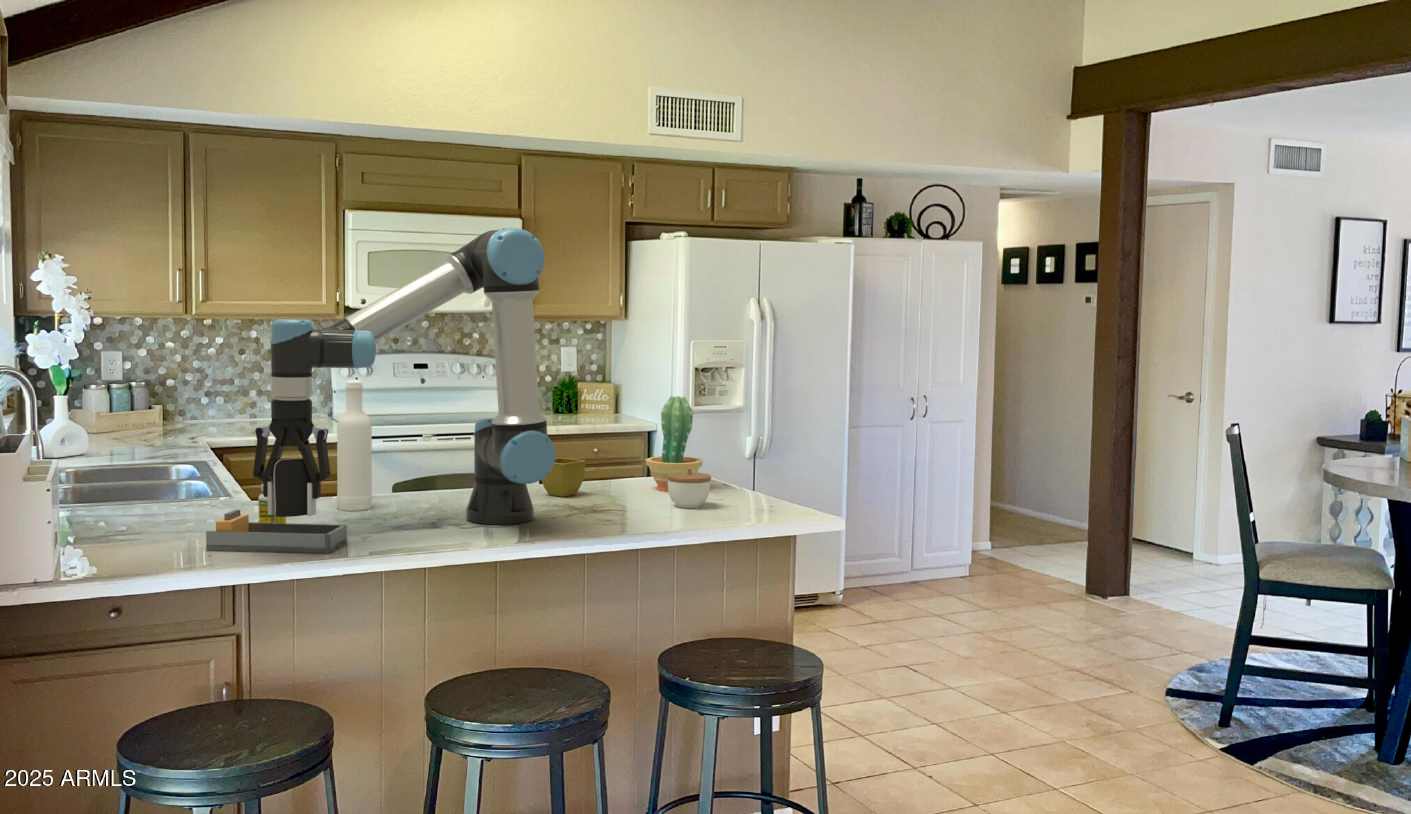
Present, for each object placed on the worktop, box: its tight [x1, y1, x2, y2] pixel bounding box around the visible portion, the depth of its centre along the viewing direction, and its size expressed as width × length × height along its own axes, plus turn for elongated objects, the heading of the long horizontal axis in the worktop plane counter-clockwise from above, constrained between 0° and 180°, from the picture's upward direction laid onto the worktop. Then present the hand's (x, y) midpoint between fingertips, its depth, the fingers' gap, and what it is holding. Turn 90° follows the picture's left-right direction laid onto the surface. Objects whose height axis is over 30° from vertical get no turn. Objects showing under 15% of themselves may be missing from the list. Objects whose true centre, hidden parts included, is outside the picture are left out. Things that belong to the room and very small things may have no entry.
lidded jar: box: [667, 468, 712, 509], centre depth 282 cm, size 11×11×9 cm
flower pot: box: [540, 457, 586, 498], centre depth 293 cm, size 9×9×9 cm
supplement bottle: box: [258, 483, 287, 523], centre depth 243 cm, size 5×5×10 cm
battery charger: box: [272, 457, 311, 518], centre depth 225 cm, size 7×4×11 cm, turn 124°
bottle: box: [336, 379, 373, 512], centre depth 268 cm, size 8×8×30 cm
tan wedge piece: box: [215, 509, 250, 532], centre depth 226 cm, size 3×8×5 cm, turn 179°
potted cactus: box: [645, 395, 704, 493], centre depth 306 cm, size 15×15×25 cm
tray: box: [205, 521, 348, 555], centre depth 226 cm, size 24×10×4 cm, turn 89°
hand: (292, 513), depth 225 cm, fingers closed on battery charger, 7 cm apart
